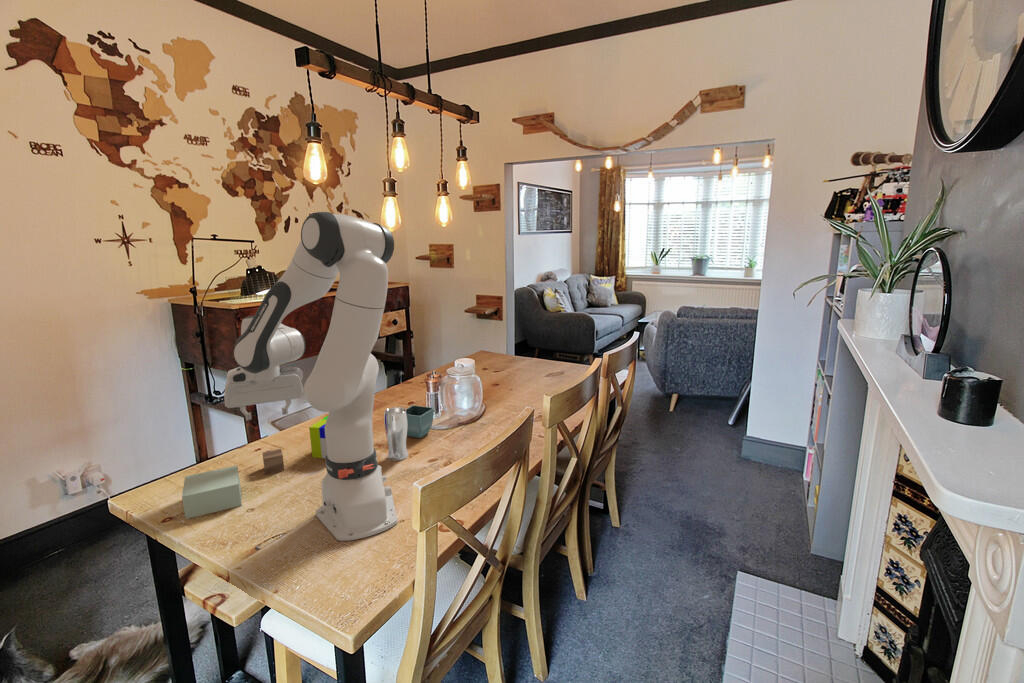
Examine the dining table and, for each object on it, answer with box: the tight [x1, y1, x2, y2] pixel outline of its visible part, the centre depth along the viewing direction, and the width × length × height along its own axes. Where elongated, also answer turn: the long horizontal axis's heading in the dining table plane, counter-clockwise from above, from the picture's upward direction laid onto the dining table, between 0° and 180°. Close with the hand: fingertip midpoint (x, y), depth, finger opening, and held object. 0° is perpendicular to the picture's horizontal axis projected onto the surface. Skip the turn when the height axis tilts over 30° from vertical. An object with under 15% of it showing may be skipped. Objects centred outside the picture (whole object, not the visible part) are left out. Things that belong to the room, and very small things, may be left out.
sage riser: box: [181, 464, 243, 520], centre depth 126 cm, size 12×12×6 cm
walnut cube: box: [262, 448, 285, 475], centre depth 143 cm, size 5×5×5 cm
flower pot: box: [405, 404, 435, 439], centre depth 167 cm, size 9×9×9 cm
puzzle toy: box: [308, 415, 328, 459], centre depth 154 cm, size 10×10×10 cm
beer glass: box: [383, 406, 409, 462], centre depth 150 cm, size 7×7×15 cm
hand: (267, 416), depth 141 cm, fingers open, 8 cm apart
